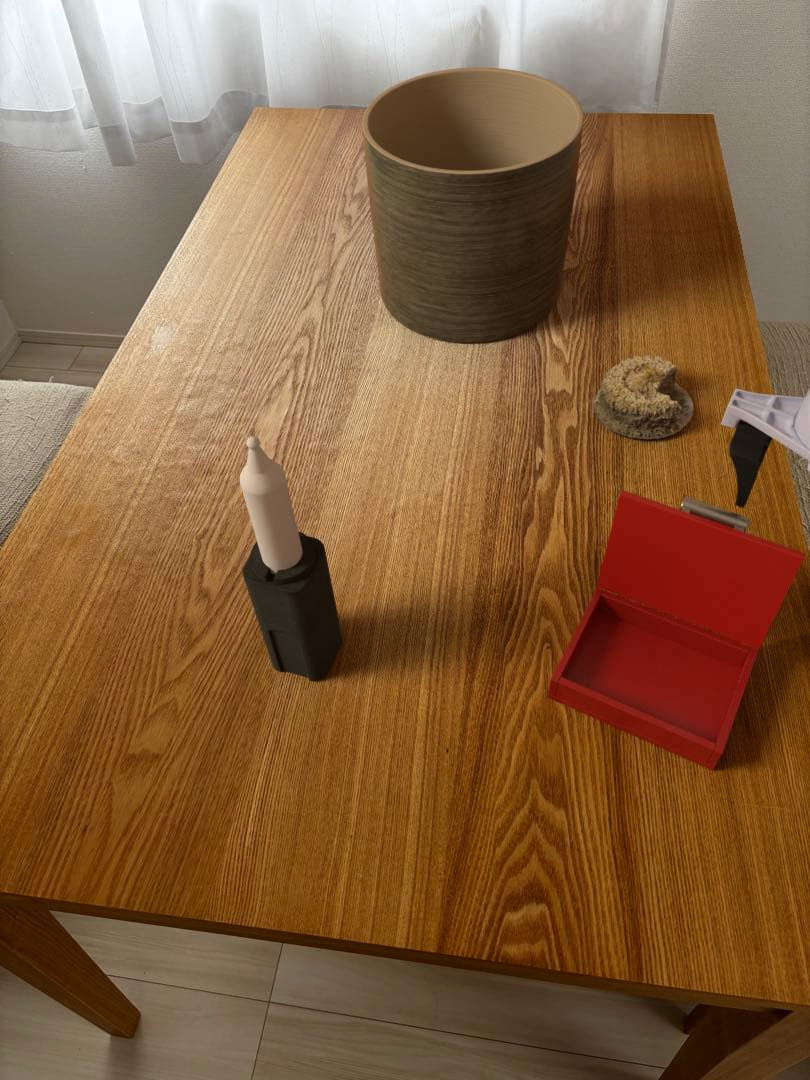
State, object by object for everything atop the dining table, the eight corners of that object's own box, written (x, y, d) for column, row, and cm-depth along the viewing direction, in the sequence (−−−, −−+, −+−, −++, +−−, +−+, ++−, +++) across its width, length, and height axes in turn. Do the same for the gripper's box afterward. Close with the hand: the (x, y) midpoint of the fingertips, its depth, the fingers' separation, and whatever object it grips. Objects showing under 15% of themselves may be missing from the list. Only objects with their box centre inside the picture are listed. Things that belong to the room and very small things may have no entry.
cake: (598, 447, 86) (600, 407, 82) (588, 381, 92) (589, 340, 88) (701, 440, 85) (709, 398, 81) (684, 373, 91) (690, 332, 87)
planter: (356, 255, 108) (339, 88, 92) (524, 220, 111) (535, 53, 95) (406, 365, 94) (395, 192, 79) (595, 322, 97) (621, 147, 82)
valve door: (804, 558, 59) (815, 521, 62) (619, 494, 64) (637, 462, 66) (759, 650, 67) (771, 613, 69) (596, 586, 71) (613, 554, 74)
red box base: (712, 771, 64) (722, 753, 62) (547, 697, 69) (550, 679, 66) (748, 669, 69) (758, 649, 67) (592, 607, 74) (596, 586, 71)
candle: (346, 634, 73) (306, 418, 54) (324, 685, 70) (272, 476, 51) (292, 619, 74) (233, 402, 55) (267, 668, 72) (195, 458, 52)
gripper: (732, 384, 55) (683, 517, 66) (980, 464, 50) (882, 592, 61) (762, 320, 58) (711, 456, 69) (995, 389, 54) (901, 522, 65)
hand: (793, 516), depth 66 cm, fingers open, 7 cm apart
